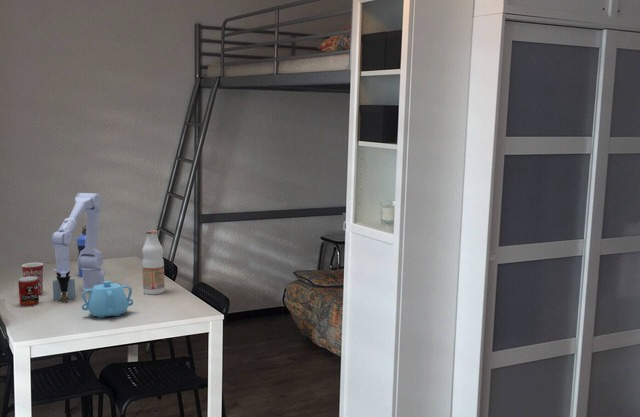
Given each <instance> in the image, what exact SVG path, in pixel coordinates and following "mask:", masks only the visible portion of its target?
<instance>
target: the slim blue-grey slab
mask: <svg viewBox="0 0 640 417" xmlns="http://www.w3.org/2000/svg"><path fill="white" fill-rule="evenodd" d="M52 292H53V293H52V296H53V297H52V298H53V302H57V301H62V293H65V292H61V288H60V284H59V281H58V280H57V279H53V280H52ZM66 293H67V300H76V296H77V295H76V279H75V278H70V279H69V282H68V288H67V292H66Z"/></svg>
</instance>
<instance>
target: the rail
mask: <svg viewBox="0 0 640 417" xmlns="http://www.w3.org/2000/svg"><path fill="white" fill-rule="evenodd" d="M61 299H62V303H68V301H67V300H68V296H67V292H65V293H61Z"/></svg>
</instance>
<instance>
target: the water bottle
mask: <svg viewBox="0 0 640 417" xmlns="http://www.w3.org/2000/svg"><path fill="white" fill-rule="evenodd" d="M86 227H87V225H84V226H82V227H81V229H82V230H81V234H82V235H80V236H78V237H76V245H77V251H78V254H77V255H78V256H77V259H78V258H79V255H80V252H81V251H82V250H83V249H84V248H85V239H86ZM88 255H93V254H88ZM77 266H78V267H77V268H78V277H79V278H83V273H82V270H81V268H80V267H79V265H78V264H77Z"/></svg>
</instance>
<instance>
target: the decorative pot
mask: <svg viewBox="0 0 640 417" xmlns="http://www.w3.org/2000/svg"><path fill="white" fill-rule="evenodd" d="M124 289H128V295H127V294H126V293H125V290H124ZM87 292H90V293H89V295H88V299H86V298H87V297H86V293H87ZM132 293H133V289H132V287H131V286H130V285H127V284H123V285H121V284H120V283H116V282H115V283H114V282H113V283H112V280H104V282H103V284H100V285H95V286H93V288H92V289H86V290H85V291H83V292H82V294H81V296H82V299H83V302H84V303H83V304H81V309H82V311H88V312H89V313H90V314H91V315H92V316H94V317H97V318H98V319H103V318H105V317H110V316H114V317H121V316H122V315H123V314H124V313H126V311H127V310H128V308H129V307H131V306H133V305H134V300H133V298H132V295H133V294H132ZM131 298H132V299H131ZM130 302H131V303H130ZM85 306H86V307H85Z"/></svg>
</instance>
